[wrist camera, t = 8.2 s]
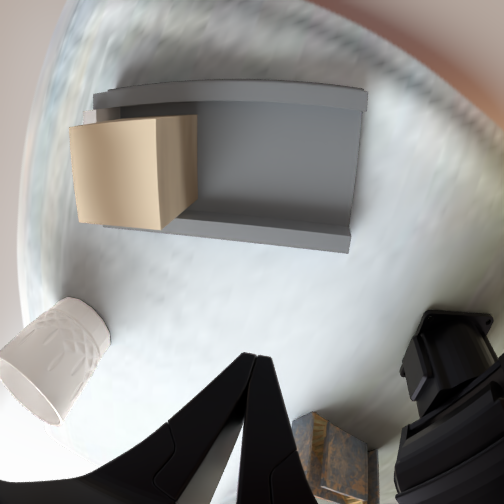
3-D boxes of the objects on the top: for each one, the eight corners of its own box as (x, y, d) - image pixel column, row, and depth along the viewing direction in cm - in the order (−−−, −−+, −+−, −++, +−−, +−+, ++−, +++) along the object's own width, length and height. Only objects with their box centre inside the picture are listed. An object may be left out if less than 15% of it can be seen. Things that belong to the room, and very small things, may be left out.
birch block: (197, 114, 16) (155, 118, 12) (197, 198, 18) (160, 230, 14) (122, 118, 17) (69, 127, 12) (126, 195, 19) (79, 222, 15)
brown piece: (381, 444, 28) (383, 519, 19) (359, 454, 29) (357, 526, 21) (316, 406, 26) (307, 499, 18) (293, 417, 28) (279, 504, 19)
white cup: (85, 358, 30) (37, 422, 21) (43, 300, 27) (-18, 358, 18) (131, 351, 27) (78, 431, 18) (83, 281, 24) (9, 353, 16)
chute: (361, 89, 15) (371, 85, 12) (344, 240, 19) (349, 266, 16) (114, 89, 17) (82, 90, 14) (121, 218, 21) (94, 236, 18)
